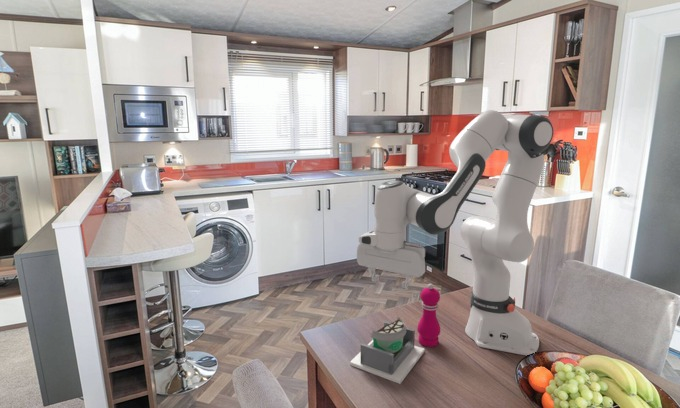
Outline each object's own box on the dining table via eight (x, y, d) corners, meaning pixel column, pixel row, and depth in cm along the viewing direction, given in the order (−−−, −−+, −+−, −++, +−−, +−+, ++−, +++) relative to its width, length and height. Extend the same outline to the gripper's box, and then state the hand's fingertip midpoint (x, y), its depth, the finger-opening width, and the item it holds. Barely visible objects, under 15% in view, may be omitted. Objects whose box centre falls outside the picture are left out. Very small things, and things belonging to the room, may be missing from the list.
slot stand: (424, 351, 121) (425, 331, 120) (400, 384, 106) (400, 361, 105) (378, 336, 130) (378, 317, 128) (350, 364, 115) (349, 343, 113)
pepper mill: (440, 349, 122) (443, 289, 118) (416, 346, 124) (418, 287, 120) (439, 336, 129) (442, 280, 125) (417, 334, 131) (419, 278, 127)
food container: (387, 371, 110) (387, 339, 108) (371, 361, 115) (371, 330, 113) (414, 354, 118) (415, 323, 116) (398, 345, 123) (398, 316, 121)
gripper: (429, 241, 107) (428, 288, 110) (364, 231, 118) (364, 274, 121) (421, 247, 102) (419, 296, 105) (353, 236, 113) (354, 281, 116)
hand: (389, 284), depth 113 cm, fingers open, 8 cm apart
